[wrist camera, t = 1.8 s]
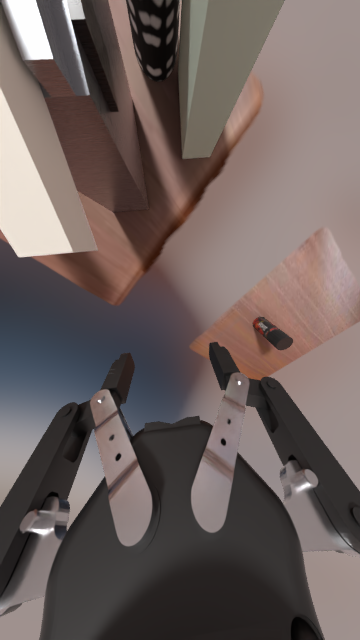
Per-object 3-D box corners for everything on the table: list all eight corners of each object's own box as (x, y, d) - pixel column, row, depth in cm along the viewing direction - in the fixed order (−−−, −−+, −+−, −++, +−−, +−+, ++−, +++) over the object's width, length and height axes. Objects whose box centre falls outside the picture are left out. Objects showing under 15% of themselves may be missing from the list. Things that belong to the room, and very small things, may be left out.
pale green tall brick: (182, 159, 32) (215, -42, 10) (178, 70, 26) (242, -1044, 4) (209, 157, 32) (306, -44, 10) (212, 68, 26) (478, -990, 4)
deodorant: (261, 328, 61) (286, 351, 48) (250, 326, 60) (272, 349, 47) (268, 318, 58) (296, 338, 46) (256, 315, 57) (282, 336, 44)
